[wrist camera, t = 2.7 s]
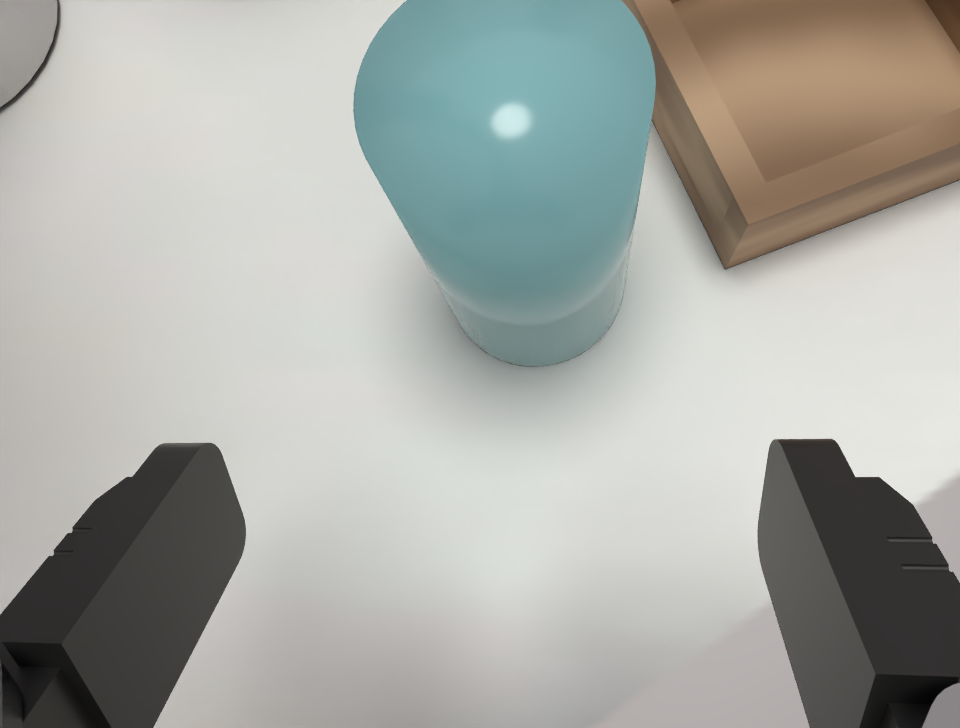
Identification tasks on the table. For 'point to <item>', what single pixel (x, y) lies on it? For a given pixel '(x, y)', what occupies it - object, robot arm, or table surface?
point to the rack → (803, 110)
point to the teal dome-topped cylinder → (514, 160)
